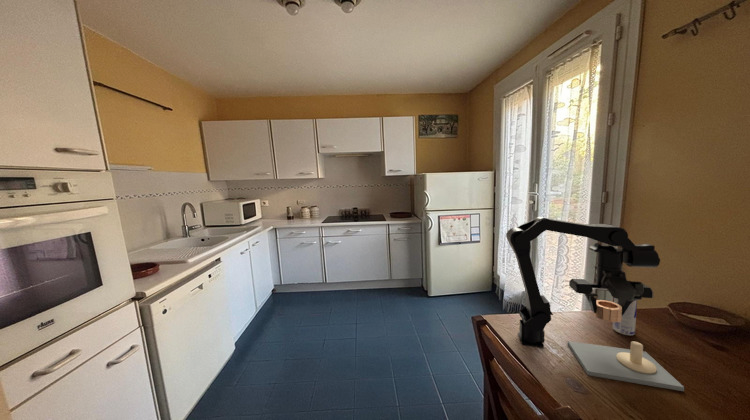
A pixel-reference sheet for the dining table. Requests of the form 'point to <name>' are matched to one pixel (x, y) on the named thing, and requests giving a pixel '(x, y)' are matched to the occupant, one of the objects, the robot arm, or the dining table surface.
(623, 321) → the beverage can
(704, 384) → the dining table surface
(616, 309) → the wooden slatted ring
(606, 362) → the bobbin board
